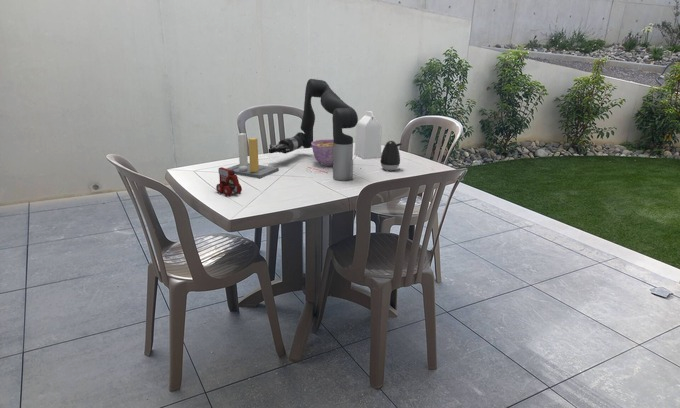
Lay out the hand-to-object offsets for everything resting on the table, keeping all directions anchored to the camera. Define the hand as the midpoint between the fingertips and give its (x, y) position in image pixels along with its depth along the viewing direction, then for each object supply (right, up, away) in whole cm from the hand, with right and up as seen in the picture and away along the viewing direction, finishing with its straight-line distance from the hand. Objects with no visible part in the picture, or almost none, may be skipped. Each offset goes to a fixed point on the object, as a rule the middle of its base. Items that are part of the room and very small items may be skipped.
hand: (269, 151), depth 222 cm
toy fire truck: (-12, -22, -35) cm, 43 cm away
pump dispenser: (+62, -9, +6) cm, 63 cm away
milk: (+52, +1, +33) cm, 62 cm away
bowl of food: (+30, -6, +14) cm, 34 cm away
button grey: (-12, -10, -7) cm, 17 cm away
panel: (-9, -11, -3) cm, 14 cm away
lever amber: (-6, -11, -9) cm, 15 cm away
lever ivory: (-14, -7, +2) cm, 15 cm away
